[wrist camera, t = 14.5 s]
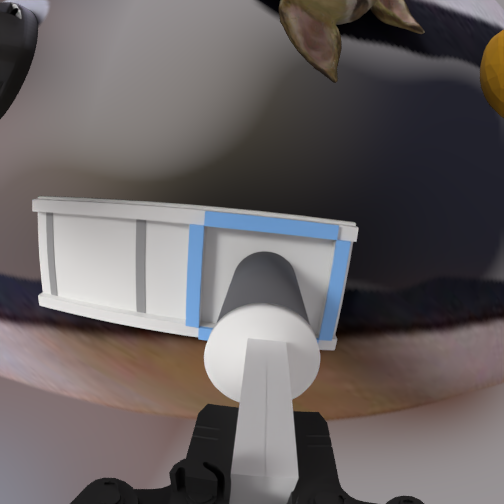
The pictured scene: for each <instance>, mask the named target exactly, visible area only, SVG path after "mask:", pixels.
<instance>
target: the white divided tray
mask: <svg viewBox="0 0 504 504" xmlns="http://www.w3.org/2000/svg"><path fill="white" fill-rule="evenodd" d="M32 211H35V212H38V238H39V256H40V268H41V280H42V289H43V293H41V294H39V295H38V298H39V305H40V306H44V307H48V308H51V309H55V310H59V311H63V312H68V313H72V314H76V315H80V316H85V317H89V318H94V319H98V320H103V321H108V322H112V323H117V324H122V325H127V326H133V327H138V328H143V329H149V330H155V331H160V332H166V333H173V334H179V335H185V336H192V337H198V339H199V340H207V341H208V339H209V336H210V334H211V331H212V329H213V328H214V326H215V325H216V323H217V320H218V317H219V314H220V312H221V309H222V306H223V303H224V300H225V297H226V294H227V292H228V289H229V286H230V283H231V280H232V277H233V275H234V272H235V270H236V267H237V266H238V264H239V263H240V262H241V261H242V260H243V259H244V258H245V257H247V256H249V255H250V254H253V253H256V252H262V251H268V252H273V253H276V254H279V255H281V256H282V257H284V258H285V259H286V260H287V261H288V262H289V263H290V264H291V266H292V267H293V269H294V272H295V275H296V278H297V281H298V285H299V288H300V292H301V295H302V299H303V302H304V306H305V309H306V313H307V316H308V320H309V323H310V326H311V328H312V330H313V332H314V334H315V336H316V339H317V343H318V346H319V350H335V347H336V343H337V337H336V335H335V334H336V329H337V325H338V320H339V316H340V311H341V306H342V301H343V296H344V291H345V286H346V280H347V275H348V270H349V264H350V258H351V252H352V246H353V241H354V242H356V241H357V235H358V227H356V223H354V222H348V221H340V220H333V219H325V218H317V217H308V216H300V215H291V214H283V213H274V212H273V213H272V212H264V211H255V210H245V209H235V208H224V207H213V206H202V205H189V204H177V203H164V202H150V201H136V200H119V199H101V198H81V197H56V196H38V199H33V200H32Z"/></svg>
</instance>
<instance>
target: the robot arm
mask: <svg viewBox="0 0 504 504" xmlns="http://www.w3.org/2000/svg"><path fill="white" fill-rule="evenodd" d="M37 37H38V25H37V20H36V17H35V16H34V14H33V13H32V12H31V11H30V10H28V9H27V8H25V7H23V6H21V5H19V4H17V3H12V2H0V119H1V118H2V117H3V115H4V114H5V113H6V111H7V110H8V109H9V107H10V106H11V104H12V103H13V101H14V99H15V98H16V96H17V94H18V92H19V91H20V89H21V86H22V85H23V83H24V80H25V78H26V76H27V74H28V71H29V69H30V66H31V63H32V60H33V57H34V53H35V48H36V44H37ZM170 480H171V485H169V486H167V487H164V488H159V489H133V487H131V486H130V485H129V484H127V483H126V482H124V481H121V480H119V479H116V478H102V479H98V480H95V481H94V482H92V483H90V484H89V485H88V486H87V487H86V488H85V489H84V490H83V491H82V492H81V493H80V494H79V495H78V496H77V497H76V498H75V499H74V500H73V501H72V502H71V503H70V504H376V503H369V502H363V501H359V500H356V499H354V498H352V497H350V496H349V495H348V494H347V493H346V492H345V491H344V490H343V489H342V488H341V485H340V483H339V479H338V474H337V469H336V464H335V459H334V454H333V449H332V447H331V439H330V437H329V430H328V425H327V422H326V421H325V420H324V418H323V417H322V416H321V415H320V413H319V412H298V411H293V406H292V396H291V385H290V375H289V365H288V355H287V346H286V342H284V341H272V340H262V339H252V338H248V340H247V348H246V356H245V364H244V372H243V380H242V388H241V396H240V405H239V408H236V407H228V406H220V405H213V404H207V405H206V406H205V407H204V408H203V409H202V410H201V411H200V412H199V414H198V417H197V421H196V425H195V428H194V432H193V436H192V439H191V442H190V446H189V449H188V453H187V457H186V459H183V460H181V461H180V462H178V463H177V464H175V465H174V466H173V468H172V469H171V471H170ZM386 504H424V503H423V502H422V501H421V500H419V499H417V498H415V497H412V496H400V497H395V498H393V499H392V500H390V501H388V502H387V503H386Z"/></svg>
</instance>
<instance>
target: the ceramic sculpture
mask: <svg viewBox="0 0 504 504" xmlns="http://www.w3.org/2000/svg"><path fill="white" fill-rule="evenodd" d="M369 9H370V10H371V11H372V13H373V14H374V15H375V16H376V17H377V18H378V19H379V20H380V21H382V22H384V23H386V24H389V25H393V26H396V27H399V28H403V29H407V30H410V31H413V32H416V33H419V34H423V33H425V32H424V30H423V28H422V27H421V26H420V24H419V23H418V22H417V21H415V20H414V18H413V17H412V15H411V13H410V11H409V9H408V7H407V5H406V3H405V1H404V0H281V1H280V5H279V15H280V22H281V24H282V25H283V27H284V29H285V31H286V34H287V35H288V37H289V39H290V41H291V42H292V44H293V45H294V46H295V48H296V49H297V51H298V52H299V53H300V54H301V55H302V56H303V57H304V58H305V59H306V60H307V62H309V63H310V64H311V65H312V66H313V67H314V68H315V69H317V70H318V71H320V72H321V73H322V74H324V75H325V76H326V77H327V78H329V79H330V80H331V81H332V82H334V83H336V82H337V66H338V61H339V57H340V53H341V36H340V32H339V29H338V28H337V26H336V25H340V24H345V23H349V22H352V21H354V20H357V19H359V18H360V17H361V16H362V15H364V14H365V13H366V12H367V11H368V10H369Z"/></svg>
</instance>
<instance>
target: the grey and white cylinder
mask: <svg viewBox="0 0 504 504" xmlns="http://www.w3.org/2000/svg"><path fill="white" fill-rule="evenodd" d="M248 338H252V339H262V340H272V341H284V342H286V346H287V355H288V365H289V375H290V385H291V396H292V399H294V398H296V397H298V396H299V395H301V394H302V393H303V392H304V391H305V390H307V389H308V387H309V386H310V385H311V384H312V382H313V381H314V379H315V378H316V375H317V373H318V370H319V367H320V351H319V346H318V343H317V339H316V336H315V334H314V332H313V330H312V328H311V326H310V323H309V320H308V316H307V313H306V309H305V306H304V302H303V299H302V295H301V292H300V288H299V285H298V281H297V278H296V275H295V272H294V269H293V267H292V266H291V264H290V263H289V262H288V261H287V260H286V259H285V258H284V257H282V256H281V255H279V254H276V253H273V252H268V251H262V252H256V253H253V254H250V255H249V256H247V257H245V258H244V259H243V260H242V261H241V262H240V263H239V264H238V266H237V267H236V270H235V272H234V275H233V277H232V280H231V283H230V286H229V289H228V292H227V294H226V297H225V300H224V303H223V306H222V309H221V312H220V314H219V317H218V320H217V323H216V325H215V326H214V328H213V329H212V331H211V334H210V336H209V339H208V341H207V344H206V348H205V352H204V364H205V369H206V372H207V374H208V376H209V378H210V380H211V382H212V383H213V384H214V386H215V387H216V388H217V389H218V390H219V391H220V392H222V393H223V394H224V395H226V396H227V397H229V398H230V399H233V400H235V401H237V402H240V396H241V388H242V380H243V372H244V364H245V356H246V348H247V340H248Z"/></svg>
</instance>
